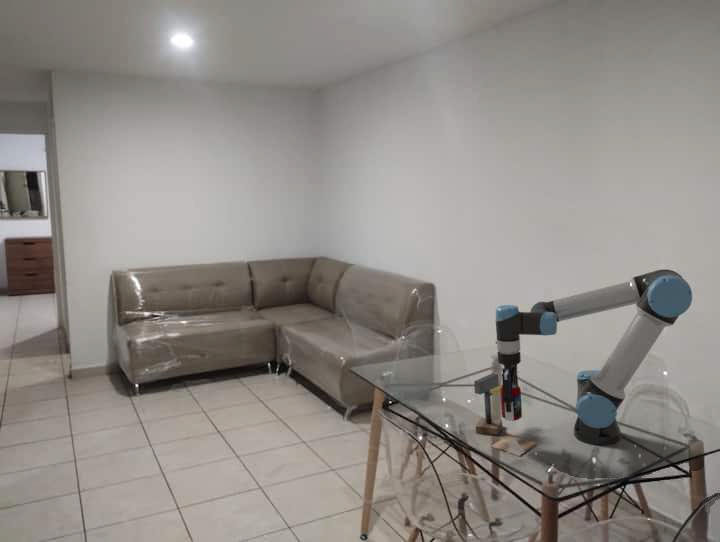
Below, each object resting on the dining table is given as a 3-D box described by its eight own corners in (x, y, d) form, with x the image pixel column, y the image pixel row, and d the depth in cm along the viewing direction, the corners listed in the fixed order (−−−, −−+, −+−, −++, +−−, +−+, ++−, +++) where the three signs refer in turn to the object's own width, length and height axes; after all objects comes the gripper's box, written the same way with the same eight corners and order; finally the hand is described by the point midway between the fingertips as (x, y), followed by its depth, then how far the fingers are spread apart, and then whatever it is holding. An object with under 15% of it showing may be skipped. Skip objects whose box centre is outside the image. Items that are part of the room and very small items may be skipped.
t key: (503, 412, 222) (500, 369, 220) (508, 414, 221) (506, 370, 218) (477, 426, 212) (474, 381, 210) (482, 428, 210) (479, 382, 208)
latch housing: (502, 426, 217) (502, 419, 217) (497, 435, 210) (497, 428, 209) (481, 424, 220) (480, 417, 220) (476, 432, 213) (475, 426, 213)
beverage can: (522, 422, 195) (521, 388, 193) (502, 422, 196) (500, 388, 195) (521, 414, 201) (519, 381, 200) (501, 414, 203) (499, 381, 201)
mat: (536, 444, 200) (536, 442, 200) (519, 456, 192) (519, 454, 192) (508, 436, 208) (508, 434, 208) (491, 447, 201) (491, 445, 200)
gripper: (503, 342, 206) (506, 404, 209) (490, 359, 188) (494, 426, 192) (525, 343, 203) (528, 406, 206) (514, 360, 185) (517, 428, 188)
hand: (511, 415), depth 199 cm, fingers closed on beverage can, 7 cm apart
